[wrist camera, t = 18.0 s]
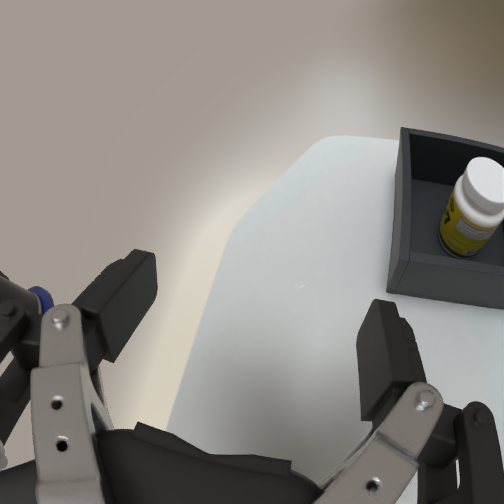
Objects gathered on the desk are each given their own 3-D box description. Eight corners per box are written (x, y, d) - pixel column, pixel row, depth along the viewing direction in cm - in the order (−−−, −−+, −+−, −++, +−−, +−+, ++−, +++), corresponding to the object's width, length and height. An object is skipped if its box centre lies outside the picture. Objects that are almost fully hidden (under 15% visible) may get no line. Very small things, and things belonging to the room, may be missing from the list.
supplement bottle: (446, 205, 24) (469, 142, 16) (486, 229, 21) (521, 172, 14) (429, 244, 23) (455, 184, 15) (472, 270, 20) (513, 219, 13)
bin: (386, 292, 23) (398, 259, 17) (395, 175, 27) (400, 126, 22) (509, 310, 18) (547, 283, 13) (499, 194, 23) (521, 152, 17)
